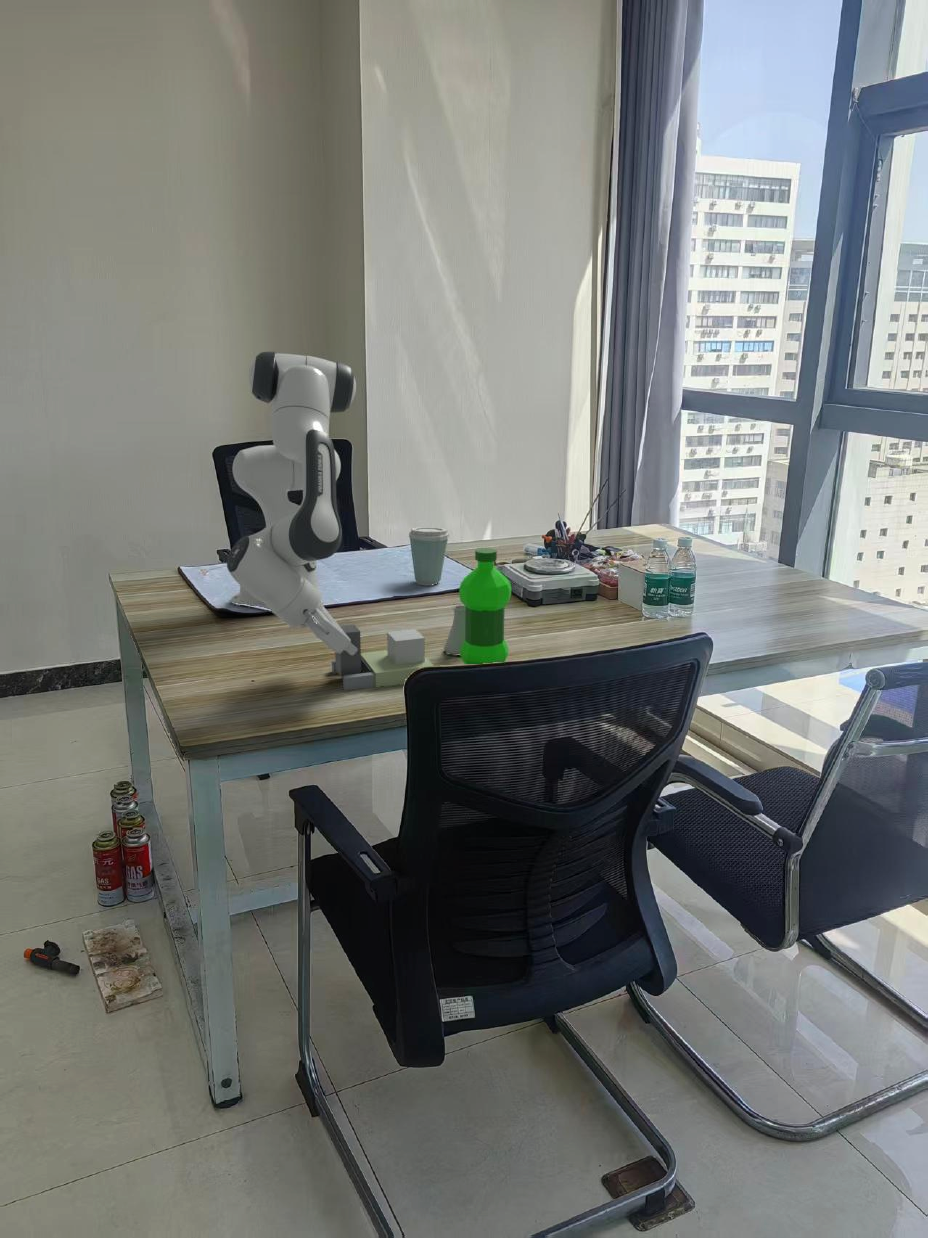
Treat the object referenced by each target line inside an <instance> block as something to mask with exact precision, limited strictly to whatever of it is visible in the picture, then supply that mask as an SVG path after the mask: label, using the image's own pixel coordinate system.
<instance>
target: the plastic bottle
mask: <svg viewBox="0 0 928 1238" xmlns="http://www.w3.org/2000/svg"><path fill="white" fill-rule="evenodd" d="M497 554H498V550H497V549H495V548H490V547H480V548H477V549H475V551H474V558H475V561H477V567H475V568H474V569H473V570H472V571H470V572H469V573H468V574H467V575H466V576H465V577H464V578H463V580H462V581H461V583H460V585H459V588H458V594H459V595H458V596H459V601H460V603H462V605H465V606H466V614H465V641H464V643H463V645H462V648H461V650H460V656H459V657H460V658H461V660H462V662H463V663H464V664H465V665H466V664H483V663H493V662H505V663H506V661H507V657H508V655H509V647H508V643H507V641H506V640H505V608H506V607H507V605H508V604H509V602H510V599H511V596H512V584H511V582H510V580H509V579H508V578H507V577H506V576H505V575H504V574H503V573H502V572H500V571H499V570H498V569H496V567H495V562H496V561H497V560H498V557H497V556H498V555H497Z"/></svg>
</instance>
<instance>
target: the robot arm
mask: <svg viewBox="0 0 928 1238" xmlns="http://www.w3.org/2000/svg"><path fill="white" fill-rule="evenodd" d="M248 382H249V387H250V390H251V394H252V395H253V396H254V397H255V398H256V400H258V401H261V402H263V403H265V404H266V403H267V404H270V403H271V410H270V416H269V417H270V418H269V427H270V432H271V436H272V437H271V438H272V443H273V444H271V445H270V444H269V445H257V446H253V447H248V448H245V449H240V450H239V451H238V452H237V454H236V456H235V457H234V459H233V463H232V475H233V476H232V477H233V478H234V481H235V482H236V484H237V486H239V487H240V489H241V490H243V491H244V492H246V493H247V494H248V495H249V496H251V497H252V498H253V499H254V500H255V501H256V502H257V503H258V505H259V507H260V508H261V510H262V514H263V516H264V521H265V527H264V528H262V530H260V531H258V532H256V533H254V534H250V535H245V536H243V537H241V538H239V540H238V541H236V542H235V545H233V547H231V550H230V551H229V554H228V556H227V560H226V567H227V570H228V572H229V574H230V576H231V577H232V579H233V580H235V581H236V582H237V584H238V585H239V591H238V592H236V593H235V594H234V595H233V596H232V597H231V599H230V602H231V601H232V602H234V603H238V604H247V605H250V606H259V607H264V608H267V609H270V610H271V611H272V612H271V611H270V612H271V613H272V614H274V615H275V616H277V617H278V619H280V620H282V621H283V622H284V623H285V624H286V625H287V626H288V627H290V628H292V629H294V628H297V627H300V628H302V629H304V628H308V629H309V630H310V631H311V632H312V633H313V634H314V635H315V636H316V637H317V638H318V639H319V640H321V641H322V642H323V643H324V644H325V645H326V646H327V647H328V648H329V649H331V650H332V651H333V652H336V653H338V654H340V653H342V652H343V650H345V651H347V652H348V653H349V654H350V655H354V654H355V653H356V652H357V651H358V649H357V647H356V646H355V645H353V644H352V643H351V640H350V638H349V637H348V636H347V635H346V633H345V632H344V631H343V630H342V629H341V627H340V626H341V625H339V623H338V622H337V621H336V620H335V619H334V617H333V616H332V615H331V614H330V612H329V611H328V610H327V608H325V606H324V601H322V600H323V595H322V592H321V590H320V588H319V583H318V577H317V572H316V569H317V561H319V560H320V561H321V560H325V559H328V558H331V557H332V556H333V555H335V553H336V552H337V551H338V549H339V548H340V546H341V544H342V539H343V529H342V523H341V520H340V516H339V510H338V505H337V480H338V478H339V477H340V473H341V467H342V466H341V465H342V464H341V459H340V455H339V454H338V453H337V451H336V449H335V447H334V443H333V440H332V438H331V437H330V417H331V414H332V413H335V414H336V413H339V414H340V413H343V412H346V411H347V410H348V409H350V406H351V404H352V402H353V401H354V398H355V396H356V392H357V382H356V378H355V372H354V371H353V369H352V368H351V366H349V365H347V364H345V363H342V362H340V361H337V362H335V361H331V360H328V359H324V358H321V357H316V356H311V355H303V354H301V355H299V354H292V353H279V352H276V351H261V352H259V353H258V354H257V355H256V356H255V359H254V360H253V362H252V363H251V365H250V369H249V373H248ZM291 491H302V501H301V503H300V504H296V503H294V502H291V501H290V499H289V497H288V492H291Z"/></svg>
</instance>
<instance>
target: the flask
mask: <svg viewBox="0 0 928 1238" xmlns="http://www.w3.org/2000/svg"><path fill="white" fill-rule="evenodd" d="M452 610H453V621H452V626H451V628H450V630H449V634H448V636H447V639H446V642H445V643H444V644H445V645H444V647H443V650H444V652H445V651H446V652H447V653H449V654H460V650H461V648H462V645H463V643H464V641H465V614H466V606H465V605H464V604H456V605H455V604H454V605H453V606H452ZM446 652H445V653H446ZM447 653H446V654H447Z"/></svg>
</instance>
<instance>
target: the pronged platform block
mask: <svg viewBox="0 0 928 1238" xmlns="http://www.w3.org/2000/svg"><path fill="white" fill-rule="evenodd" d="M425 639H426V638H425V637H424V636H423V635H422V634H421V632H419V631H418V629H416V628H411V629H401V630H392V631H387V632H386V641H387V644H386V646H387V647H386V648H387V650H386V649H385V650H376V651H367V652H361V674H353V675H344V676H343V677H342V686H343V689H344V691H351V690H352V689H353V690H358V688H361V689H367V688H381V687H380V686H384V687H391V686H398V684H400V685H404V684H403V683H404V682H405V679H406V678H408V676H409V675H411V673H412V672H413V671H415V670H417V669H419V668H421V667H427V666H434V667H435V665H434V664H433V663H432V662H431V660H429V659H428V658H427V657H426V655H425V654H426V653H425V652H426V647H425V644H426V643H425V642H426V640H425ZM331 672H332V673H333V675H335V674H339V673H338V672H337V670H336V659H335V658H334V659H331ZM374 686H376V687H374Z"/></svg>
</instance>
